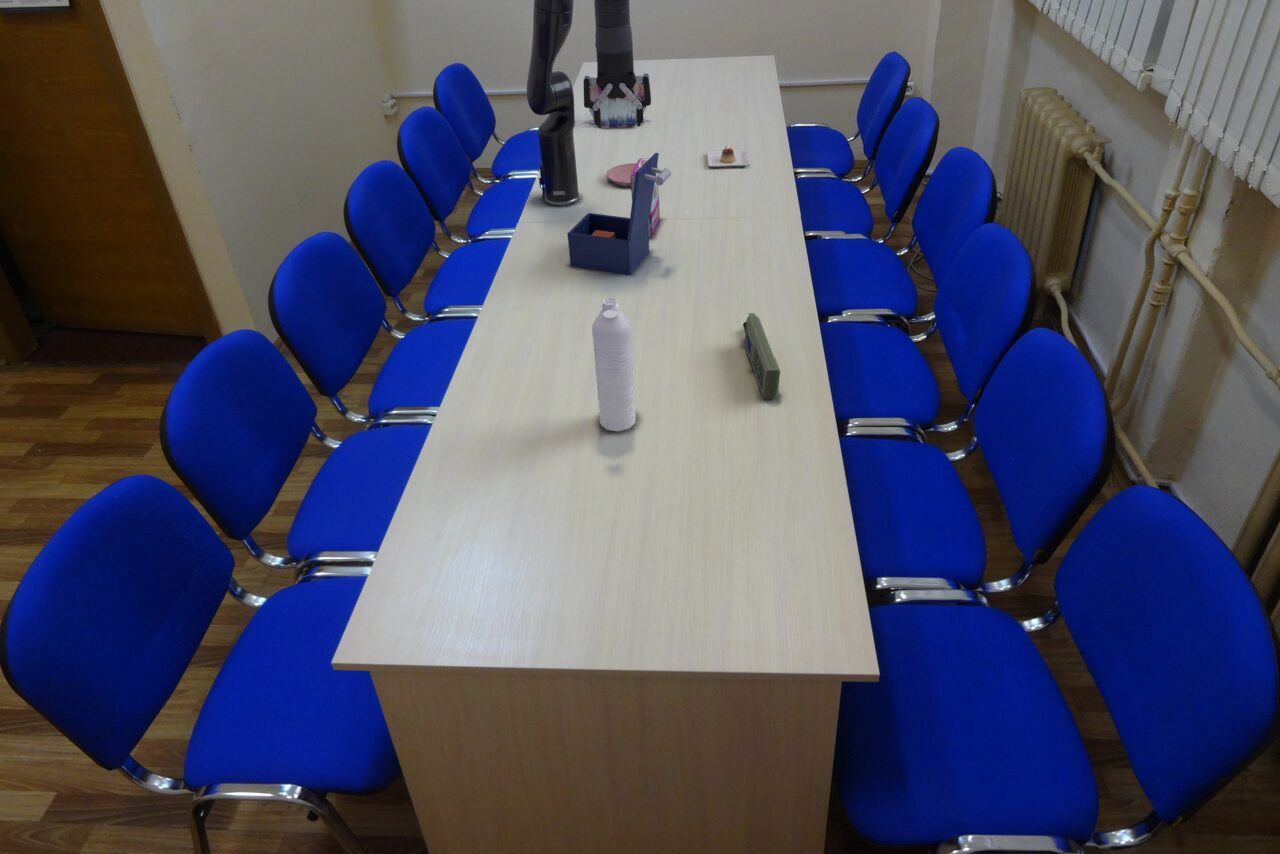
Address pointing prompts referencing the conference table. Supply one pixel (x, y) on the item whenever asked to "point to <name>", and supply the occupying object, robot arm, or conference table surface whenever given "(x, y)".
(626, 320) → the water bottle
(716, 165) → the dessert
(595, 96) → the handbag
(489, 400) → the conference table surface
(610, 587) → the conference table surface
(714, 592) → the conference table surface
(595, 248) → the case
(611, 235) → the cube
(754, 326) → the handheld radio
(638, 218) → the case lid
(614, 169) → the plate
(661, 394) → the conference table surface
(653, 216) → the candy bar box
